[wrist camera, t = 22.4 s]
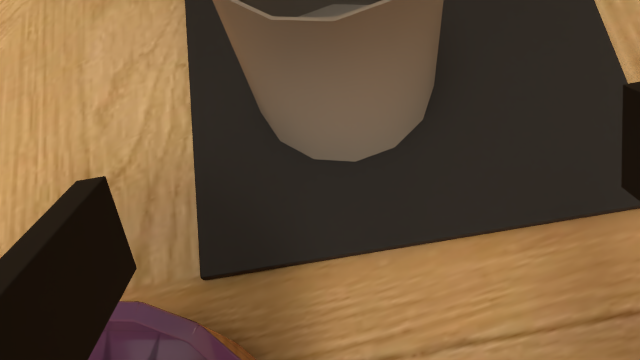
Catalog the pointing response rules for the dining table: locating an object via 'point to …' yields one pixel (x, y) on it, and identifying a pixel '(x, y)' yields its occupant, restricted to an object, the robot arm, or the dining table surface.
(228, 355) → the plum bowl
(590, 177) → the place mat
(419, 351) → the dining table surface
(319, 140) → the cup
